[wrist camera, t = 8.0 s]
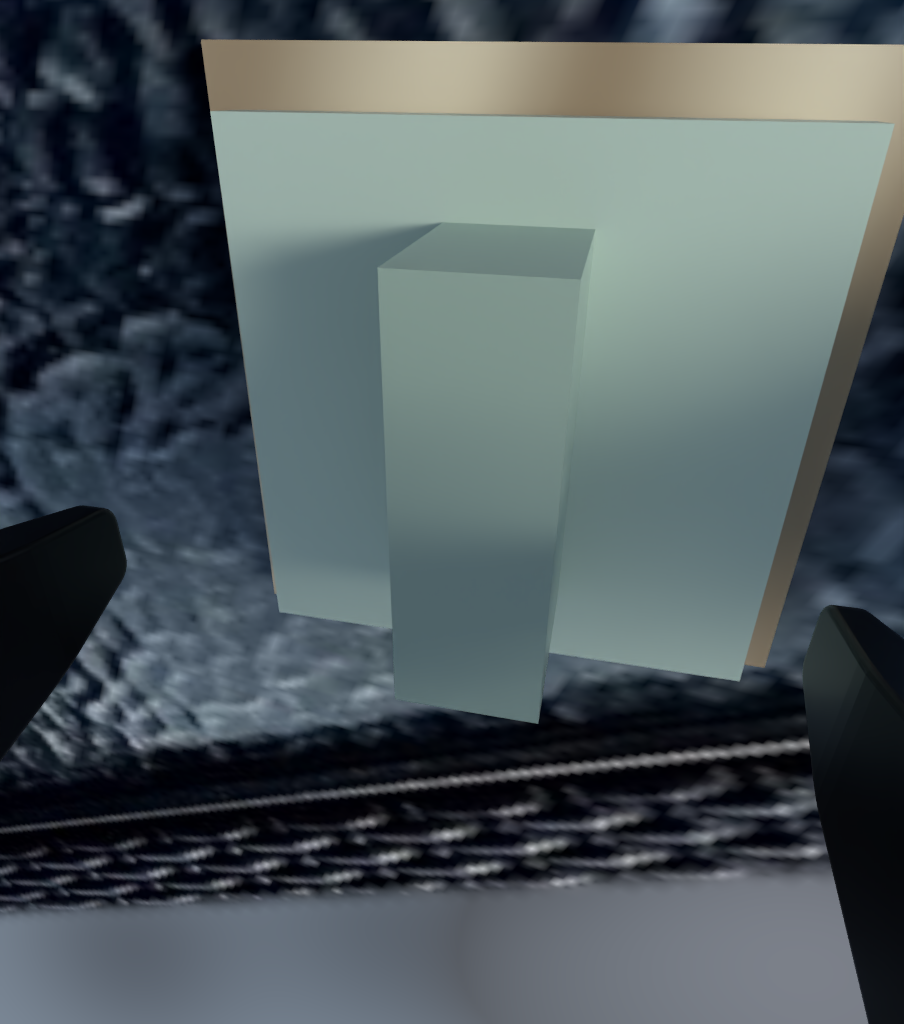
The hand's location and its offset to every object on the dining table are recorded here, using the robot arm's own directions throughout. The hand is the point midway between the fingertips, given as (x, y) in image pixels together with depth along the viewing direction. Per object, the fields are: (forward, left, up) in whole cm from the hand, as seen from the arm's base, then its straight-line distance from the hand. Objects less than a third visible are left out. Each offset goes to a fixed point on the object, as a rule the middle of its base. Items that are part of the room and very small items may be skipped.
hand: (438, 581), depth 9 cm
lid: (0, 0, -7) cm, 7 cm away
